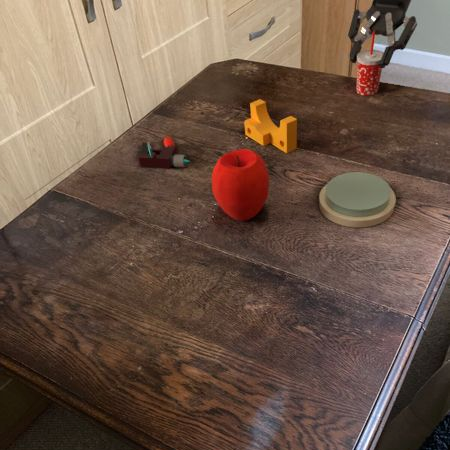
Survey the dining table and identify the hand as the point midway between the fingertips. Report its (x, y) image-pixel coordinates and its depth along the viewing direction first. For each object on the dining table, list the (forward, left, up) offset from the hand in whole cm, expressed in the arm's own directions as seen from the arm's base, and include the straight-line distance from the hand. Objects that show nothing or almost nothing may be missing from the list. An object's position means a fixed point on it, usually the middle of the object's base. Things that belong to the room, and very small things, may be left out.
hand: (367, 63), depth 107 cm
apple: (0, +48, -8) cm, 49 cm away
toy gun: (+25, +40, -8) cm, 48 cm away
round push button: (-16, +36, -8) cm, 40 cm away
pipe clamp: (+9, +25, -8) cm, 28 cm away
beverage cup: (0, -2, -8) cm, 8 cm away
